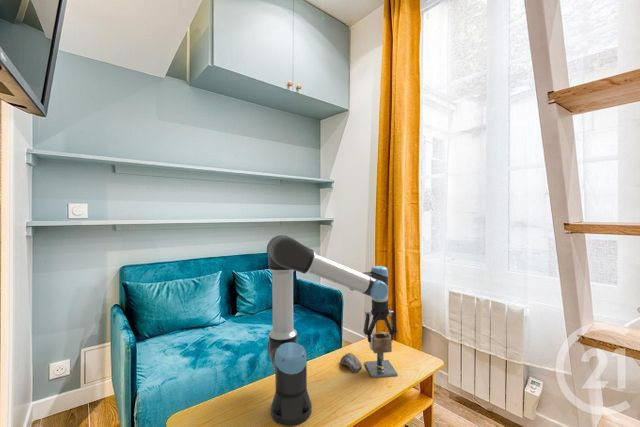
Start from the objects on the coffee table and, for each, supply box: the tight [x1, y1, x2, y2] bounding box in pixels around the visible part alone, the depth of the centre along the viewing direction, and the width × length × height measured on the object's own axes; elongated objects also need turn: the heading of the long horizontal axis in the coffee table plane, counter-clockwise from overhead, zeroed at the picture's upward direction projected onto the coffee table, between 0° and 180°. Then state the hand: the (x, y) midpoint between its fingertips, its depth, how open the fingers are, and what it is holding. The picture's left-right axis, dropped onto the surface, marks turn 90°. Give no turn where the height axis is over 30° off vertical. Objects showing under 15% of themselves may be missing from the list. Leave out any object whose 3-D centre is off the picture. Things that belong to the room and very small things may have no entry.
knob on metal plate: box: [364, 353, 398, 379], centre depth 138 cm, size 12×12×11 cm
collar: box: [372, 331, 393, 354], centre depth 138 cm, size 8×8×6 cm
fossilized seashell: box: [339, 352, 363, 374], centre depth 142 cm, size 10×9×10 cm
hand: (380, 348), depth 138 cm, fingers closed on collar, 8 cm apart
